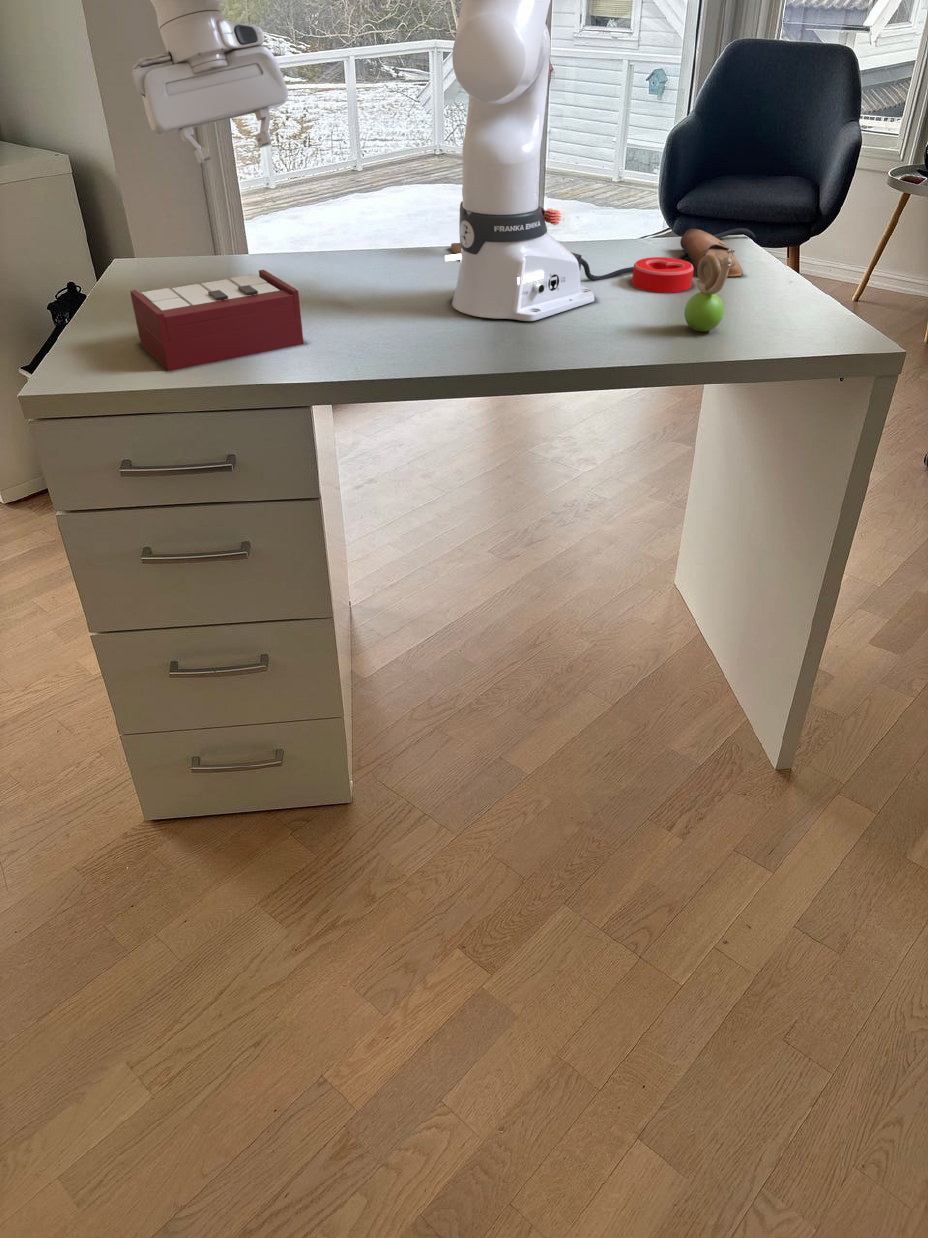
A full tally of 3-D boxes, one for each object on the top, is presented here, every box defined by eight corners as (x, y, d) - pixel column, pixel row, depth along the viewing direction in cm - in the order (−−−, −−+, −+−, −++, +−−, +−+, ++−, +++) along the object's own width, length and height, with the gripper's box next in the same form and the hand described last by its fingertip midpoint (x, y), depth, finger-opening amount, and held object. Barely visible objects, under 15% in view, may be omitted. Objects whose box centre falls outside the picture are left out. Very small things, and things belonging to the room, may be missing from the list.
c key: (256, 283, 134) (254, 273, 133) (268, 291, 131) (267, 281, 130) (231, 287, 132) (229, 277, 131) (242, 295, 129) (241, 285, 128)
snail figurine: (702, 341, 130) (716, 251, 123) (674, 327, 135) (685, 241, 128) (733, 335, 132) (748, 246, 125) (703, 322, 137) (716, 236, 130)
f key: (170, 297, 128) (168, 287, 127) (180, 306, 125) (179, 295, 124) (142, 302, 127) (140, 292, 126) (153, 311, 124) (151, 300, 123)
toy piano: (270, 320, 138) (263, 269, 133) (303, 344, 129) (298, 290, 125) (141, 344, 129) (129, 290, 125) (168, 371, 121) (157, 314, 117)
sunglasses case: (747, 273, 156) (732, 237, 152) (708, 295, 158) (692, 260, 154) (725, 246, 170) (711, 213, 167) (689, 266, 172) (674, 234, 169)
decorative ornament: (631, 291, 150) (633, 270, 148) (632, 274, 157) (634, 255, 156) (692, 294, 148) (694, 273, 146) (690, 277, 156) (693, 257, 154)
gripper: (130, 54, 122) (172, 167, 127) (272, 25, 129) (305, 133, 135) (122, 67, 127) (162, 175, 133) (258, 38, 135) (291, 142, 140)
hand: (235, 153), depth 134 cm, fingers open, 8 cm apart
